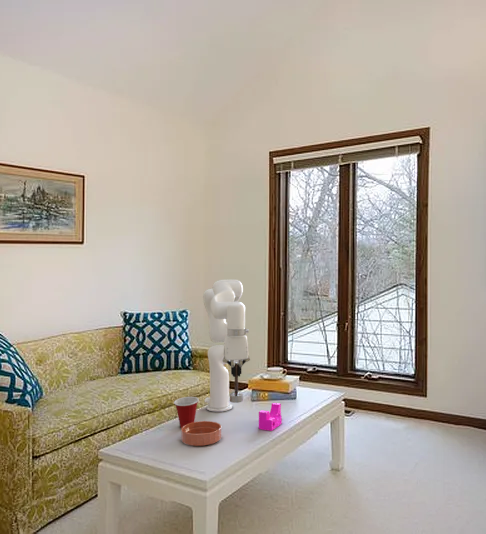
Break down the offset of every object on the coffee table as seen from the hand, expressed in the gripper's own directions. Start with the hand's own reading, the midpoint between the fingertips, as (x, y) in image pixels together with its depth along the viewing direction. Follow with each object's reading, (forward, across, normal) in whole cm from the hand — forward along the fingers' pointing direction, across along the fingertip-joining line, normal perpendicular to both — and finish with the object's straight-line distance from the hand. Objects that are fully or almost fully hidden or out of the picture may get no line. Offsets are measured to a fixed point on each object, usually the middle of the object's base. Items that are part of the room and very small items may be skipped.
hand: (236, 375), depth 208 cm
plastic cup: (+25, +20, -15) cm, 35 cm away
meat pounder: (+11, 0, 0) cm, 11 cm away
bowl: (+25, +15, +3) cm, 29 cm away
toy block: (+25, -18, -7) cm, 31 cm away
